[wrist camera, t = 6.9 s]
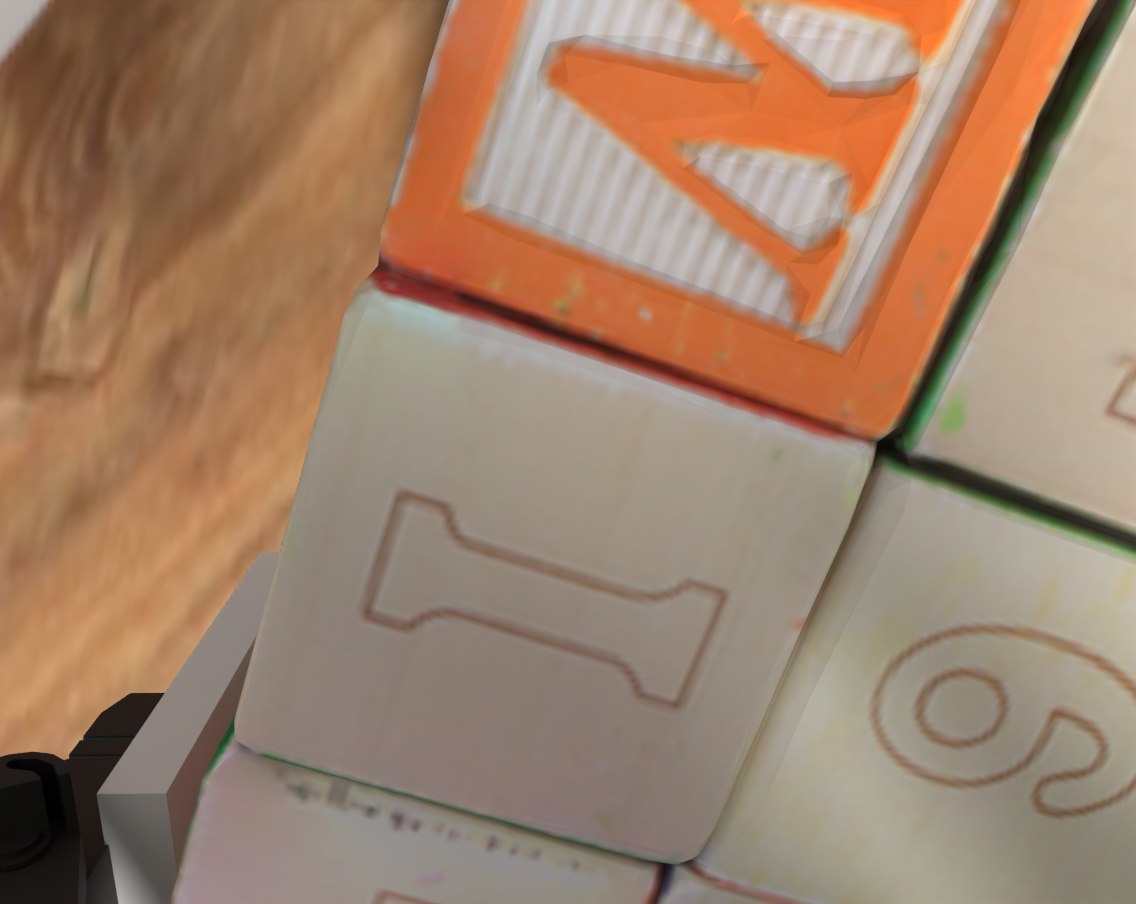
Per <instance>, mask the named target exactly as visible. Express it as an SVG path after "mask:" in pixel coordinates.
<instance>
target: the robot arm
mask: <svg viewBox="0 0 1136 904" xmlns="http://www.w3.org/2000/svg"><path fill="white" fill-rule="evenodd" d="M278 555H279V553H260V554H259V555H258V557H257V558H256V559H255V561H254V562H253V564H252V565H251V567H250V568H249V570H248V571H247V573H246V574H245V576H244V577H243V579H242V580H241V582H240V583H239V585H238V586H237V587H236V589H235V590H234V592H233V593H232V595H231V596H230V598H229V599H228V601H227V602H226V604H225V605H224V607H223V608H222V610H221V611H220V613H219V614H218V616H217V617H216V618H215V620H214V621H213V623H212V624H211V626H210V627H209V629H208V630H207V632H206V633H205V635H204V636H203V638H202V639H201V641H200V642H199V644H198V645H197V646H196V648H195V649H194V651H193V652H192V654H191V655H190V657H189V658H188V660H187V661H186V663H185V664H184V666H183V667H182V669H181V670H180V672H179V673H178V675H177V676H176V677H175V679H174V680H173V682H172V683H171V685H170V686H169V688H168V689H167V691H166V692H165V693H130V694H129V695H127V696H126V697H124V698H123V699H121V700H120V701H118V702H117V703H115V704H114V705H112V706H111V707H109V708H108V709H106V710H105V711H103V712H102V713H101V714H100V715H99V716H98V718H97V719H96V720H95V722H94V723H93V724H92V726H91V727H90V728H89V730H88V731H87V732H86V733H85V735H84V739H83V740H80V741H79V743H78V744H77V745H76V747H75V748H74V749H73V750H72V752H71V753H70V754H69V759H66V760H65V761H64V760H62V759H61V758H59V757H57V756H55V755H54V754H48V753H39V752H26V753H18V754H9V755H6V756H2V757H0V904H169V903H170V900H171V897H172V893H173V890H174V886H175V883H176V879H177V874H178V869H179V865H180V860H181V856H182V851H183V846H184V842H185V837H186V834H187V831H188V828H189V825H190V822H191V819H192V816H193V813H194V810H195V807H196V803H197V799H198V795H199V790H200V786H201V782H202V779H203V777H204V774H205V772H206V770H207V768H208V766H209V764H210V762H211V760H212V758H213V756H214V754H215V752H216V750H217V748H218V746H219V744H220V742H221V740H222V738H223V736H224V735H225V733H226V731H227V729H228V727H229V725H230V723H231V721H232V719H233V717H234V716H235V714H236V712H237V708H238V705H239V701H240V697H241V693H242V689H243V686H244V682H245V678H246V674H247V670H248V667H249V663H250V659H251V655H252V652H253V648H254V644H255V640H256V636H257V633H258V629H259V625H260V621H261V617H262V614H263V610H264V606H265V602H266V599H267V595H268V591H269V588H270V584H271V581H272V577H273V573H274V570H275V566H276V563H277V559H278Z"/></svg>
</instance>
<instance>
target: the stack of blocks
mask: <svg viewBox="0 0 1136 904" xmlns="http://www.w3.org/2000/svg"><path fill="white" fill-rule="evenodd" d="M169 904H1136V0H449V2H448V6H447V9H446V12H445V16H444V19H443V22H442V25H441V29H440V32H439V35H438V38H437V42H436V45H435V48H434V51H433V55H432V58H431V61H430V64H429V68H428V72H427V75H426V79H425V82H424V85H423V89H422V92H421V95H420V99H419V102H418V105H417V108H416V112H415V115H414V118H413V122H412V125H411V128H410V132H409V135H408V138H407V141H406V145H405V148H404V151H403V155H402V158H401V161H400V165H399V168H398V171H397V175H396V178H395V181H394V184H393V188H392V191H391V194H390V198H389V201H388V204H387V208H386V211H385V214H384V219H383V225H382V232H381V240H380V252H379V263H378V267H377V268H376V269H375V270H374V271H373V272H372V273H371V274H370V275H369V276H368V277H367V278H366V280H365V281H364V282H363V283H362V284H361V285H360V286H359V287H358V288H357V289H356V291H355V293H354V295H353V297H352V299H351V302H350V304H349V306H348V308H347V311H346V313H345V315H344V317H343V321H342V325H341V328H340V332H339V336H338V339H337V343H336V347H335V351H334V354H333V358H332V362H331V365H330V369H329V373H328V376H327V380H326V383H325V387H324V391H323V394H322V398H321V401H320V405H319V409H318V412H317V416H316V419H315V423H314V427H313V430H312V434H311V437H310V441H309V445H308V449H307V452H306V456H305V460H304V464H303V468H302V472H301V476H300V479H299V483H298V487H297V490H296V494H295V498H294V501H293V505H292V508H291V512H290V516H289V519H288V523H287V526H286V530H285V534H284V537H283V541H282V544H281V548H280V552H279V555H278V559H277V563H276V566H275V570H274V573H273V577H272V581H271V584H270V588H269V591H268V595H267V599H266V602H265V606H264V610H263V614H262V617H261V621H260V625H259V629H258V633H257V636H256V640H255V644H254V648H253V652H252V655H251V659H250V663H249V667H248V670H247V674H246V678H245V682H244V686H243V689H242V693H241V697H240V701H239V705H238V708H237V712H236V714H235V716H234V717H233V719H232V721H231V723H230V725H229V727H228V729H227V731H226V733H225V735H224V736H223V738H222V740H221V742H220V744H219V746H218V748H217V750H216V752H215V754H214V756H213V758H212V760H211V762H210V764H209V766H208V768H207V770H206V772H205V774H204V777H203V779H202V782H201V786H200V790H199V795H198V799H197V803H196V807H195V810H194V813H193V816H192V819H191V822H190V825H189V828H188V831H187V834H186V837H185V842H184V846H183V851H182V856H181V860H180V865H179V869H178V874H177V879H176V883H175V886H174V890H173V893H172V897H171V900H170V903H169Z"/></svg>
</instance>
